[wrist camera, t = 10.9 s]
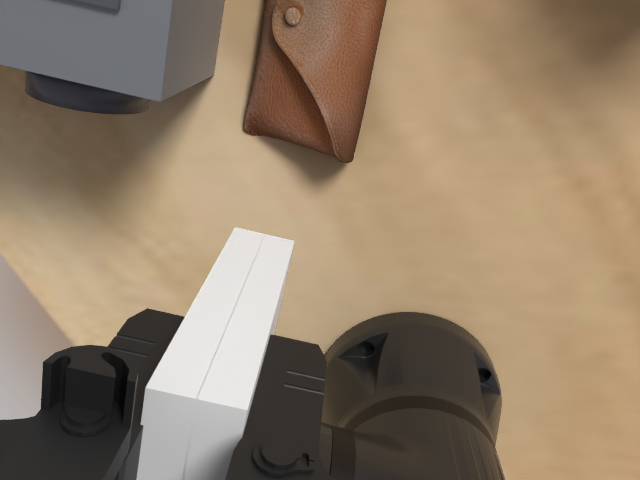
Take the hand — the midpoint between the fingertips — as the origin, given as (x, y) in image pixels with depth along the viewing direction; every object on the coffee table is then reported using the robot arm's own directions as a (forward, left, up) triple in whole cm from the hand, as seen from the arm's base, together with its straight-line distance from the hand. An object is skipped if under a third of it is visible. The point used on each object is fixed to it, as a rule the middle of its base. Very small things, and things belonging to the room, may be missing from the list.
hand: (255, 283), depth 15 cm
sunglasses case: (+5, +2, -30) cm, 31 cm away
